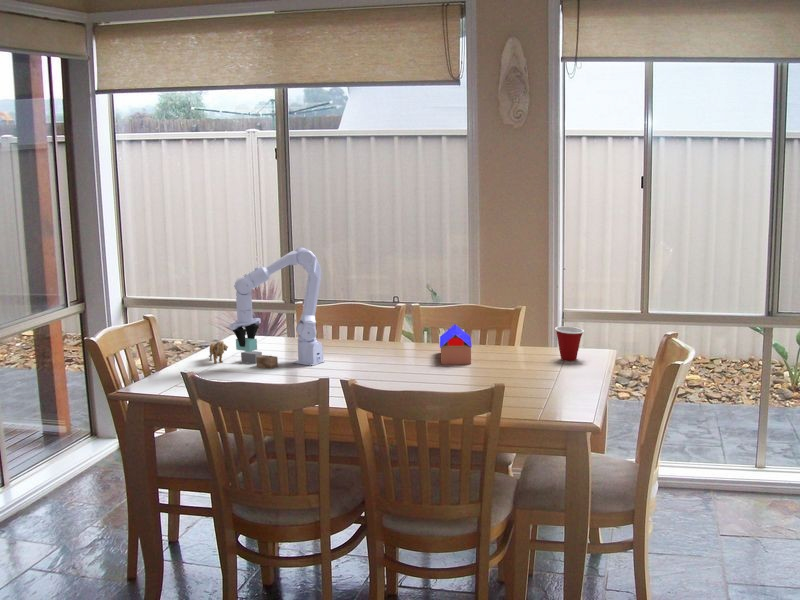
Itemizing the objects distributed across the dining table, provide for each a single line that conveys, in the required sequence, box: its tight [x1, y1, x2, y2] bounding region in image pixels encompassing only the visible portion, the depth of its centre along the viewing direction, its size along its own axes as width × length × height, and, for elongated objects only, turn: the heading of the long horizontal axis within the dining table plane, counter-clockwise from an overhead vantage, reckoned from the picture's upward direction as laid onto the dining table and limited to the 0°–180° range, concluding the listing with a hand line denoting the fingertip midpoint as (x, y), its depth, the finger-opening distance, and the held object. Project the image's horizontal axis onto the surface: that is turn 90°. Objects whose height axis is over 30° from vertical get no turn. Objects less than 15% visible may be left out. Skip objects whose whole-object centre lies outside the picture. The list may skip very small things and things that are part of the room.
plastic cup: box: [554, 325, 585, 362], centre depth 339 cm, size 11×11×12 cm
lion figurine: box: [208, 340, 229, 365], centre depth 350 cm, size 15×5×9 cm, turn 35°
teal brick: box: [235, 337, 258, 352], centre depth 337 cm, size 7×4×4 cm, turn 55°
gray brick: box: [240, 350, 263, 365], centre depth 348 cm, size 7×4×4 cm, turn 61°
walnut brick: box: [256, 354, 279, 370], centre depth 339 cm, size 7×4×4 cm, turn 60°
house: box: [439, 324, 473, 365], centre depth 345 cm, size 12×20×12 cm, turn 177°
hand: (246, 345), depth 337 cm, fingers closed on teal brick, 4 cm apart
